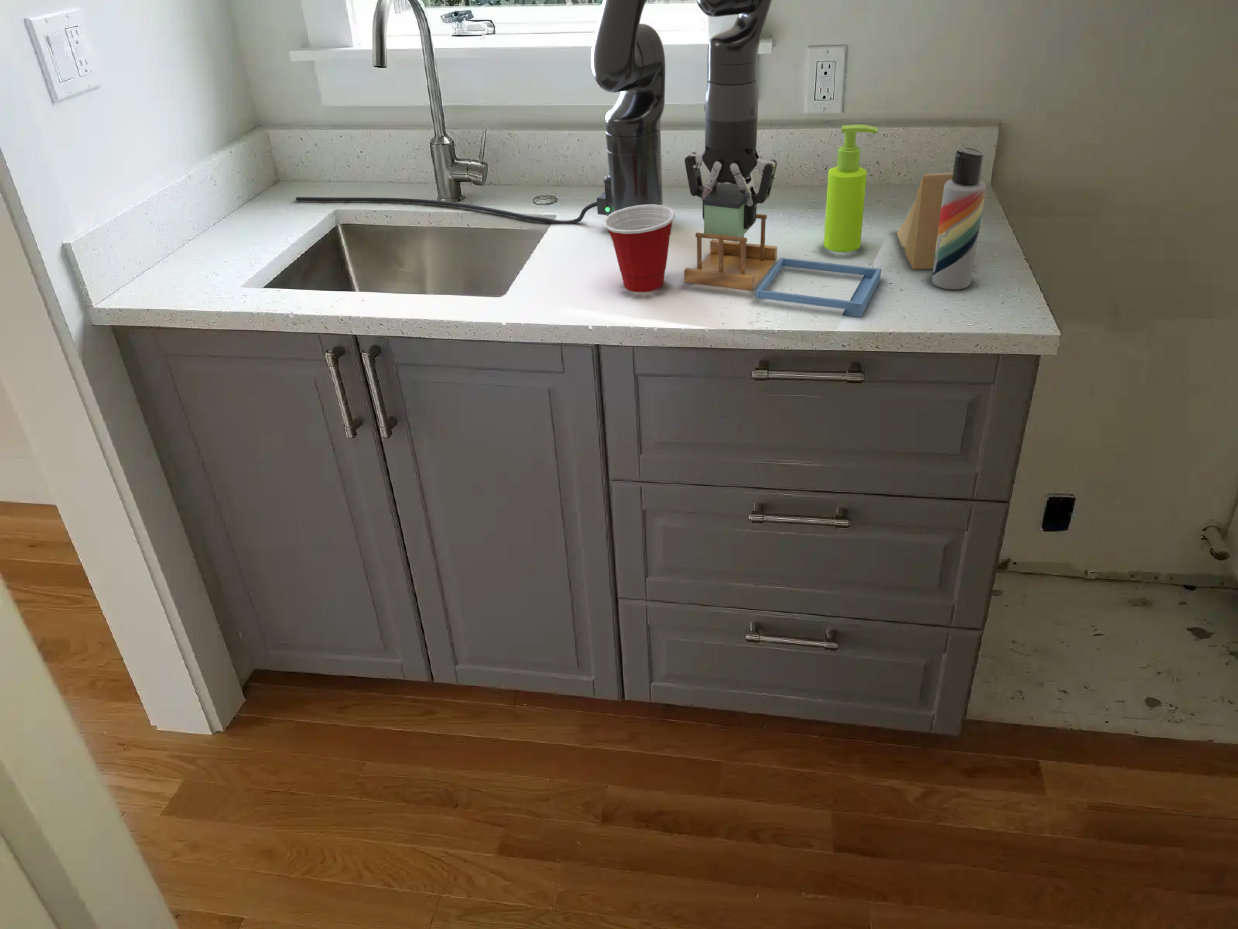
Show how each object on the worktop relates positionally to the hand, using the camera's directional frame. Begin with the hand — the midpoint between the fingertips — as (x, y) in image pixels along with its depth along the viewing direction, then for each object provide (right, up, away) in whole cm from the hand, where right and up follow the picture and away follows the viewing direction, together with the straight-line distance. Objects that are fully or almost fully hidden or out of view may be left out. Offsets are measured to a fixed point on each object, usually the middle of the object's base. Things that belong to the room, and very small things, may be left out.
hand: (728, 224), depth 149 cm
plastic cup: (-13, -10, +2) cm, 17 cm away
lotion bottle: (+33, -9, -2) cm, 35 cm away
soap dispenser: (+20, -2, +11) cm, 23 cm away
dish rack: (+1, -7, +5) cm, 8 cm away
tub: (0, -1, +1) cm, 1 cm away
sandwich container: (+34, -2, +9) cm, 35 cm away
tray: (+13, -11, -2) cm, 17 cm away
